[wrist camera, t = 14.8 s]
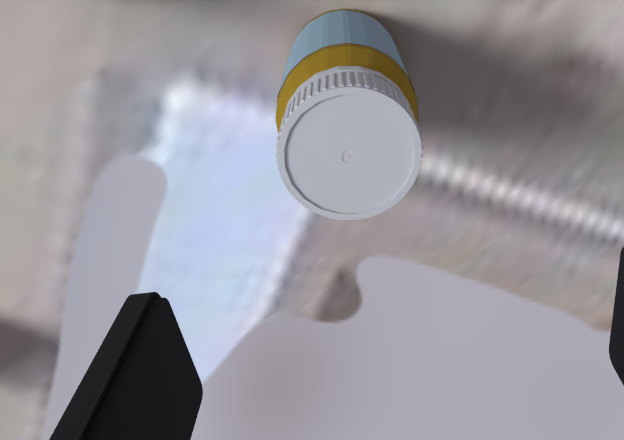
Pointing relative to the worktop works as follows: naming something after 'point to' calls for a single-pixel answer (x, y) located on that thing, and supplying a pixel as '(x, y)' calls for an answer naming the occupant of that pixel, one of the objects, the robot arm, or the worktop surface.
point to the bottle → (347, 118)
